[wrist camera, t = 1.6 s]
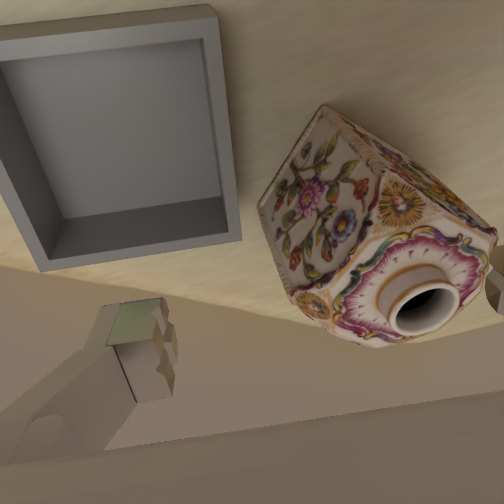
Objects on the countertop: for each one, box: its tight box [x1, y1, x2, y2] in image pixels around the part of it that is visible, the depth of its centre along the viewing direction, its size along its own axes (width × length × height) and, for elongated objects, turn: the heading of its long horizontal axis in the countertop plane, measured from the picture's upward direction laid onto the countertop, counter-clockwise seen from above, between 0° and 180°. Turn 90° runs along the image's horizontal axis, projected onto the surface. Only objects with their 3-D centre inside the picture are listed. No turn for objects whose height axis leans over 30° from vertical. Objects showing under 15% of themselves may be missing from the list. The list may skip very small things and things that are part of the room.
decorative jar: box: [257, 106, 499, 348], centre depth 33 cm, size 12×12×18 cm
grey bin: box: [0, 4, 242, 272], centre depth 31 cm, size 16×16×7 cm
